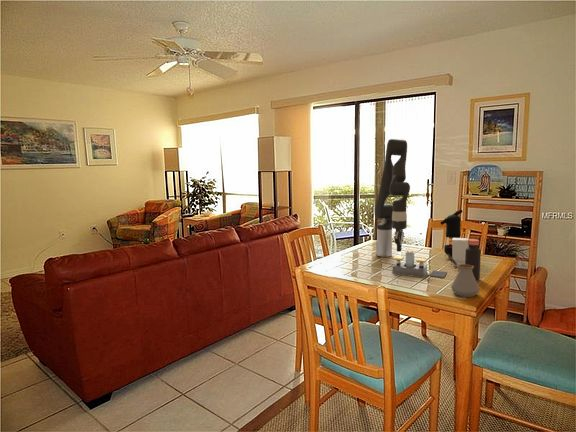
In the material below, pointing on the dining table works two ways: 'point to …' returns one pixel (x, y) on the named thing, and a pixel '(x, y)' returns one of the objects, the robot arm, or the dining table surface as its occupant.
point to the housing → (409, 270)
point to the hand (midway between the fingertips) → (399, 251)
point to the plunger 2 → (421, 262)
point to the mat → (438, 274)
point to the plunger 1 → (398, 259)
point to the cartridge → (409, 259)
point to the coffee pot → (464, 280)
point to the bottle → (473, 257)
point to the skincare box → (459, 250)
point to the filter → (452, 229)
